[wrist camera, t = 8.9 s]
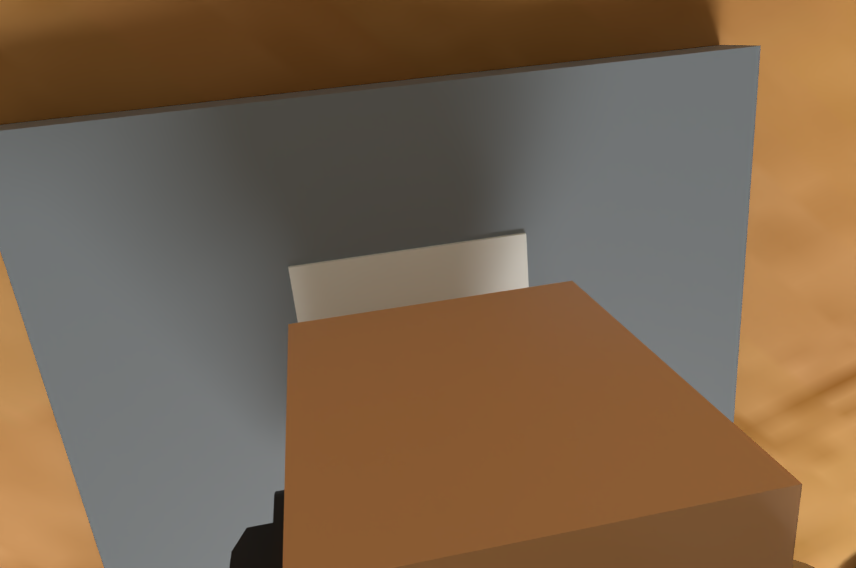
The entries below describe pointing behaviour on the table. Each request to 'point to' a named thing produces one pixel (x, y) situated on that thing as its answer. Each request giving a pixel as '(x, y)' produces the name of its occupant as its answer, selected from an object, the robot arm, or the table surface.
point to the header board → (352, 253)
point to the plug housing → (515, 445)
